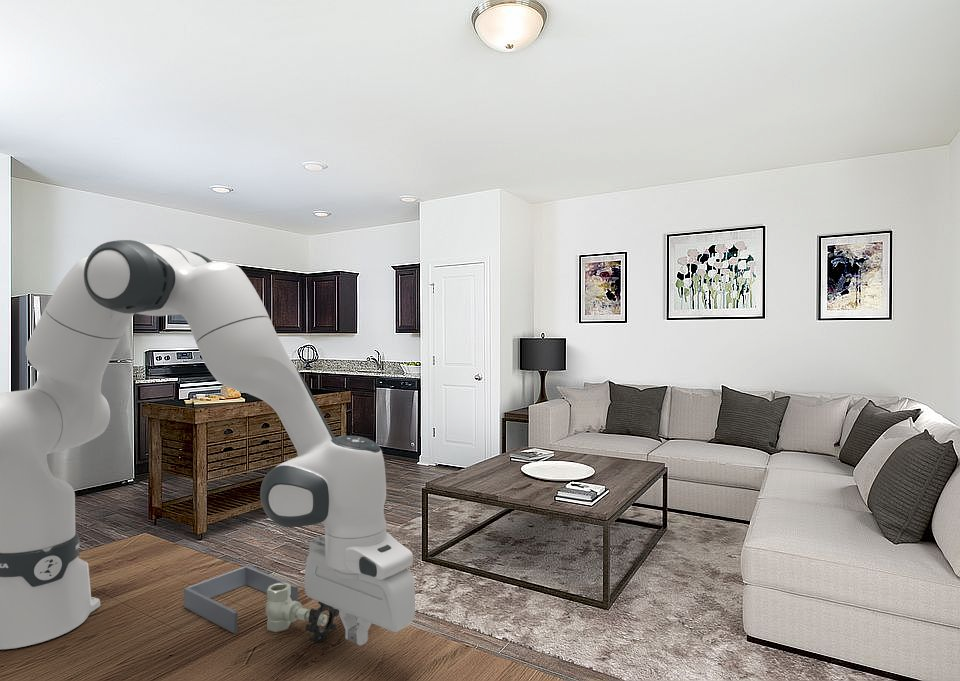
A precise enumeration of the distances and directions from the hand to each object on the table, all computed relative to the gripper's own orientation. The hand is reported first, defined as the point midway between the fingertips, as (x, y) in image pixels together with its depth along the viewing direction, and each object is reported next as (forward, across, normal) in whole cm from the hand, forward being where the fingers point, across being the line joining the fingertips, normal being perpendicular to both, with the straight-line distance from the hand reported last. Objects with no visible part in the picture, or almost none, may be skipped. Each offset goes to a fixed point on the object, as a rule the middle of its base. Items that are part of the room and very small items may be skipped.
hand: (356, 641), depth 86 cm
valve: (+3, -14, 0) cm, 14 cm away
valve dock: (+3, -29, 0) cm, 29 cm away
